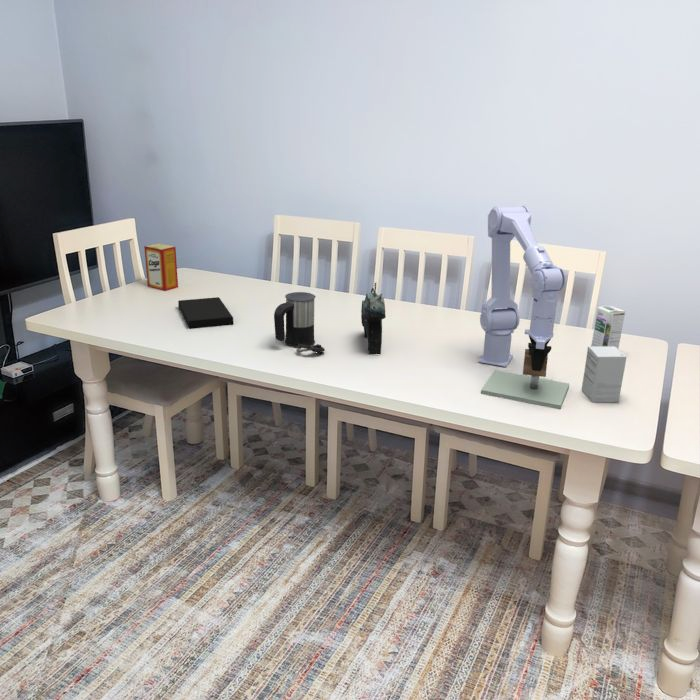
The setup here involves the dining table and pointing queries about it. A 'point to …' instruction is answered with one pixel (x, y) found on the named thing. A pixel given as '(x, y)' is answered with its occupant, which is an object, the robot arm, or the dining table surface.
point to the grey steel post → (534, 382)
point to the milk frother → (297, 321)
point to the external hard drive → (205, 313)
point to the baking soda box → (161, 266)
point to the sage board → (525, 389)
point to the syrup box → (608, 327)
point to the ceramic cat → (373, 320)
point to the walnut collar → (528, 366)
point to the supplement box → (603, 374)
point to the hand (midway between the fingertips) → (536, 365)
